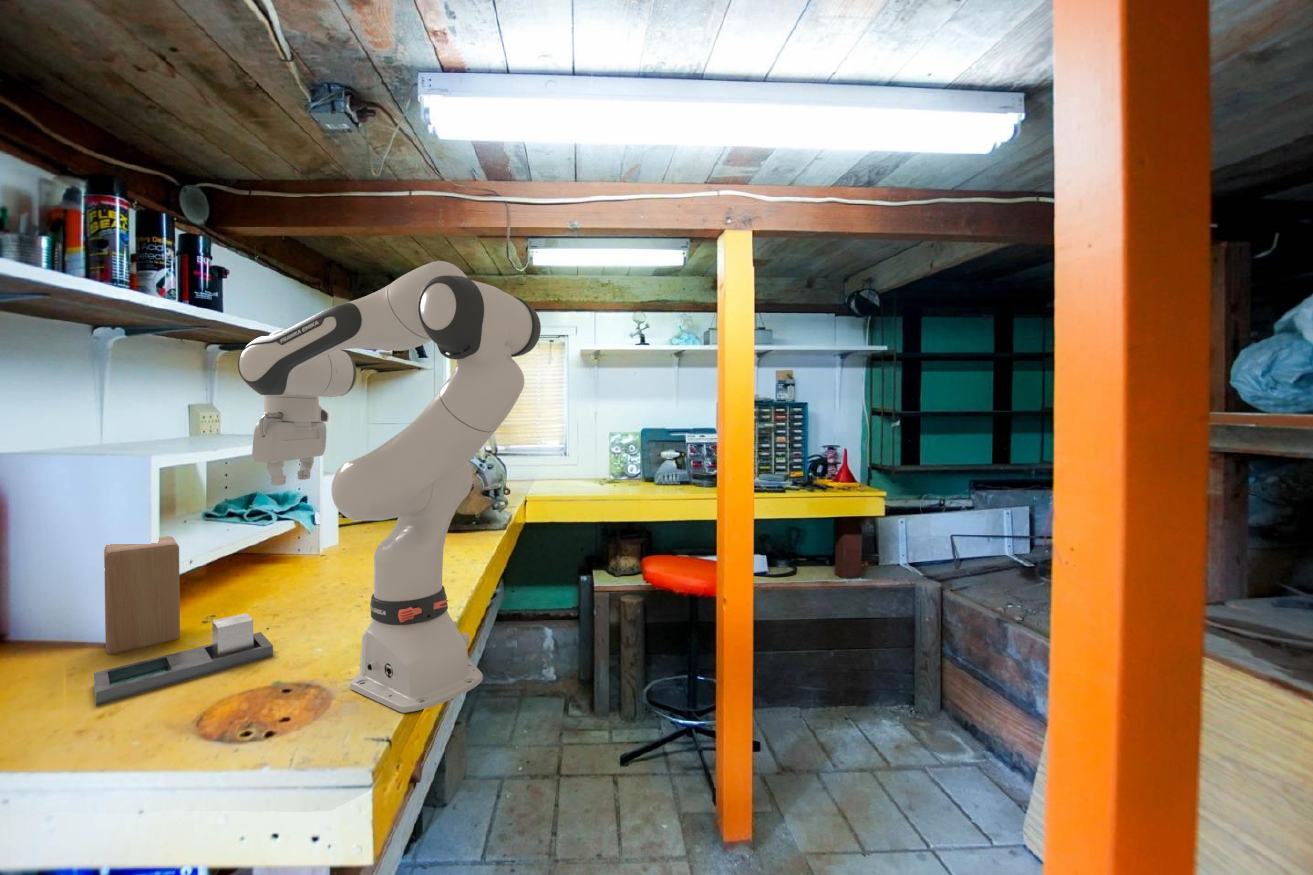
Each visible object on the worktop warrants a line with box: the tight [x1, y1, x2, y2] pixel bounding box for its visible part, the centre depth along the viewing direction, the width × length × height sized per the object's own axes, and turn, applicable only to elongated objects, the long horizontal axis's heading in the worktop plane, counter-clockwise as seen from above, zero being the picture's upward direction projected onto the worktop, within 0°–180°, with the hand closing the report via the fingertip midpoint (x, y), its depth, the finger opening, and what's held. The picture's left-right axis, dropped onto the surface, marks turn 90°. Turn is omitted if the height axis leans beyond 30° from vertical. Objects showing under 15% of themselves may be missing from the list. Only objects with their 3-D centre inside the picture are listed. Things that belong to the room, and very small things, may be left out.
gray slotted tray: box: [93, 631, 274, 706], centre depth 88 cm, size 9×22×3 cm, turn 140°
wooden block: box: [103, 535, 181, 655], centre depth 99 cm, size 10×10×20 cm
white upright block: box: [211, 612, 254, 659], centre depth 92 cm, size 5×5×7 cm
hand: (291, 482), depth 100 cm, fingers open, 8 cm apart
